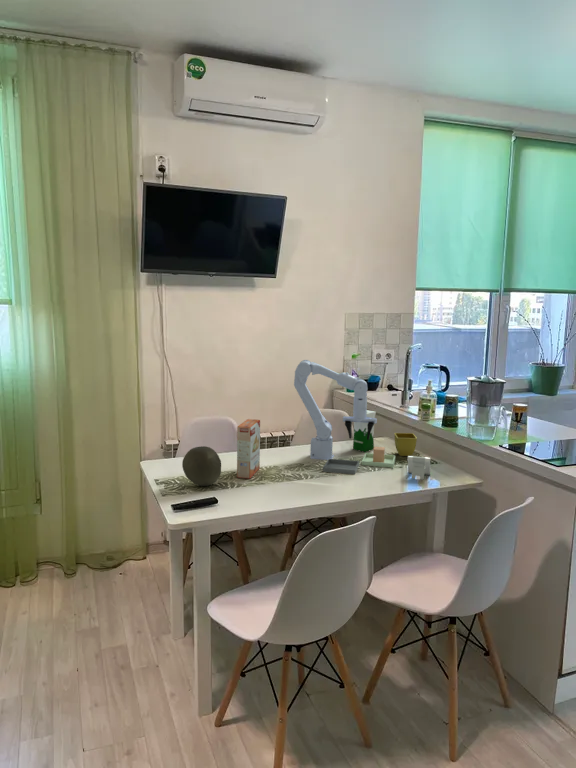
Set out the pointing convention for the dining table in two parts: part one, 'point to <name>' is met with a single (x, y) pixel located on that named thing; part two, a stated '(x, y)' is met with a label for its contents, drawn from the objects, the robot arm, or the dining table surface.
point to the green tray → (388, 462)
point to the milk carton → (363, 435)
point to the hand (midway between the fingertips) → (359, 438)
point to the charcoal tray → (341, 466)
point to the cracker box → (248, 448)
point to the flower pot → (405, 443)
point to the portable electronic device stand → (418, 466)
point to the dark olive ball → (202, 466)
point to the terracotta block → (378, 454)
